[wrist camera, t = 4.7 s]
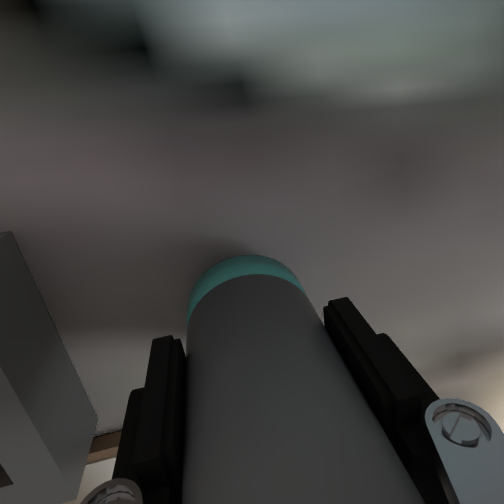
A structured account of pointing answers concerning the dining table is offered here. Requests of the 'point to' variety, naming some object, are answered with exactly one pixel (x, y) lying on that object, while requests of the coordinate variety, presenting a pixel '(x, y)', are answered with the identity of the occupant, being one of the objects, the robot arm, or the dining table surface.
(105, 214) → the dining table surface
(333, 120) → the dining table surface
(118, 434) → the board
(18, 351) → the button base
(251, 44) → the dining table surface
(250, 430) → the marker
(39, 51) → the dining table surface
